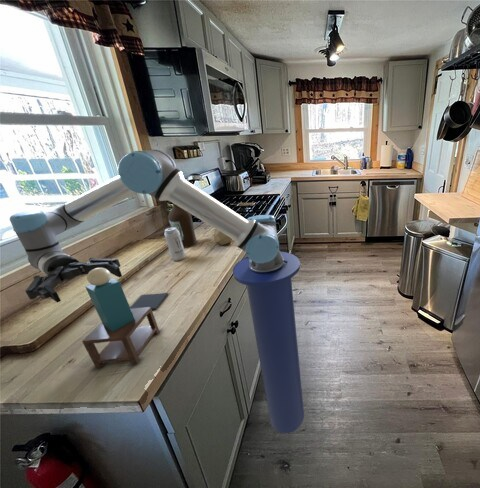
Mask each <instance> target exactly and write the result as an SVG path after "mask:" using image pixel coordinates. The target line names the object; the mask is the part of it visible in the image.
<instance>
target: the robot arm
mask: <svg viewBox="0 0 480 488" xmlns="http://www.w3.org/2000/svg"><path fill="white" fill-rule="evenodd" d="M117 173H118V175H115V176H114V177H112V178H110V179H108V180H106V181H105V182H103V183H101V184H98V185H97V186H96V187H93V188H92V189H90V190H88V191H86V192H84V193H82V194H80V195H78V196H77V197H75V198H73V199H71V200H69V201H68V202H65V203H63V204H62V205H59V206H58V207H56V208H53V209H52V210H49V211H47V212H44V211H42V210H29V211H23V212H19V213H18V212H17V213H14V214H12V215H10V217H9V222H10V224H11V226H12V229H13V231H14V233H15V234H16V236H17V238H18V239H19V241H20V243H21V245H22V247H23V248H24V251H25V253H26V255H27V261H28V263H29V264H30V266H31V267H33V268H34V269H36V270H38V271H40V272H41V273H42V274H44V276H43V275H40V274H39V275H34V276H33V280H32V281H31V283H30V284H29V285H28V287H27V288H26V289H25V291H24V292H25V294H26V296H27V297H28V299H29V300H34V299H37V297H40V298H41V300H45V299H48V298H51V300H52V301H54V302H56V303H61V302H62V300H61V298H60V296H59V294H58V292H57V291H56V290H54V289H55V288H56V287H58V285H62V284H63V283H64V282H68V281H70V280H71V281H72V280H74V279H75V278H76V277H79V276H84V275H88V273H89V272H90V271H91V270H93V269H95V268H105V269H107V270H108V271H109V272H110V273H111V275H114V276H116V277H118V278H122V277H123V274H122V272H121V270H120V269H121V268H120V267H121V266H122V265H121V263H120V261H119V258H96V257H90V258H88V261H87V262H85V261H84V262H83V261H79V260H78V259H76V258H74V257H73V256H72V255H69V254H68V253H65V252H64V251H63V249H62V247H61V245H60V242H59V241H58V238H57V236H58V235H60V234H62V233H64V232H66V231H69V230H71V229H72V228H75V227H77V226H79V225H81V224H82V223H84V222H85V221H86V220H89V219H90V218H93V217H94V216H96V215H98V214H100V213H102V212H105V211H106V210H108V209H109V208H111V207H114V206H115V205H118V204H119V203H121V202H123V201H125V200H127V199H128V198H130V197H132V196H134V195H136V194H141V195H149V196H151V197H153V198H154V199H156V200H158V201H159V202H165V201H168V202H169V203H172V204H173V203H174V204H175V205H177V206H179V207H180V208H182V209H184V210H185V211H187V212H189V213H190V214H191V216H194V217H195V218H196V219H199V220H201V221H202V222H204V223H205V224H207V225H208V226H210V227H211V228H214V230H215V229H217V230H219V231H220V232H222V233H223V234H225V235H227V236H228V237H230V238H232V240H233V241H234V243H235V246H236V247H237V248H239V249H240V250H242V251H243V252H245V254H246V257H248V258H249V268H250V270H251V271H252V272H255V273H259V274H266V273H272V272H275V271H277V270H279V269H281V268H282V267H283V266H284V262H285V263H287V262H288V261H285V260H284V259H283V257H282V255H281V253H280V252H281V250H280V241H279V238H278V237H279V236H278V232H277V231H278V230H277V224H276V223H277V221H276V217H275V216H274V215H272V214H258V215H252V216H249V217H248V218H245V217H244V216H242V215H241V214H239V213H237V212H236V211H234V210H233V209H231V208H230V207H228V206H227V205H225V204H223V203H222V202H221V201H219V200H217V199H216V198H215V197H213V196H212V195H210V194H208V193H207V192H205V191H203V190H202V189H201V188H199V187H198V186H196V185H195V184H193V183H191V182H190V181H188V180H187V179H185V176H184V174H183V171H181V170H180V169H179V168H177V164H176V162H175V160H174V159H173V158H172V157H171V155H169V154H168V153H166V152H164V151H163V150H159V149H152V148H151V149H146V150H134V151H130V153H127V154H125V155H124V156H122V158H121V159H120V160H119V162H118V166H117Z"/></svg>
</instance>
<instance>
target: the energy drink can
mask: <svg viewBox="0 0 480 488" xmlns="http://www.w3.org/2000/svg"><path fill="white" fill-rule="evenodd" d="M163 234H164V238H165V241H166V245H167V248H168V251H169V255H170V258H171V259H172V260H173V261H175V262H177V261H178V262H179V261H182V260H184V259H185V257H186V251H185V247H183V244H182V240H181V237H180V233H179V231H178V230H177V228H176V227H171V226H170V227H167V228H165V229H164V233H163Z"/></svg>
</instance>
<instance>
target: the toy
mask: <svg viewBox="0 0 480 488" xmlns="http://www.w3.org/2000/svg"><path fill="white" fill-rule="evenodd" d="M86 280H87V282H88V283H89V284H87V285H85V286H84V288H85V289H86V292H87V294H88V296H89V298H90V300H91V302H92V304H93V306H94V308H95V311H96V313H97V315H98V317H99V319H100V321H101V322H102V324H103V325H104V326H105V327H107V328H108V329H109V330H111V331H112V332H113V331H115V330H117V329H119V328H121V327H123V326H124V325H126V324H128V323H130V322H132V321H134V320H135V319H134V316H133V314H132V311H131V309H130V307H131V306H130V304H129V302H128V300H127V297H126V294H125V292H124V289H123V287H122V284H121V282H120V281H119V280H118V279H115V278H114V277H112V274H111V273H110V272H109V271H108V270H107V269H105V268H95V269H93V270H91V271H90V272H89V273H88V274H86Z"/></svg>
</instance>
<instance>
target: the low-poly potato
mask: <svg viewBox="0 0 480 488" xmlns="http://www.w3.org/2000/svg"><path fill="white" fill-rule="evenodd" d="M212 237H213V238H214V241H215V242H216V243H218V244H219V245H221V246H225V245H228V244H231V242H232V240H233V239H232V238H230V237H228V236H227V235H225V234H223V233H222V232H220V231H219V230H217V229H215V228H214V232H213V234H212Z"/></svg>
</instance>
